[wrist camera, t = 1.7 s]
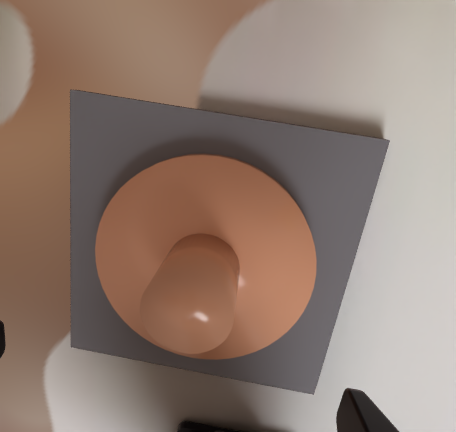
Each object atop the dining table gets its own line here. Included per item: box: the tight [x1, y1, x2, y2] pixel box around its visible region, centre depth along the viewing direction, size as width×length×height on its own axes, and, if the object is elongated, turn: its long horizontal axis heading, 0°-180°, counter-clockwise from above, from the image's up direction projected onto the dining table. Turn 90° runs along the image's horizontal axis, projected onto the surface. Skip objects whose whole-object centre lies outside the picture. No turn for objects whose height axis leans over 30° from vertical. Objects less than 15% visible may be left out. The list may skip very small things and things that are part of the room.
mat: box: [70, 90, 390, 395], centre depth 15 cm, size 12×12×1 cm
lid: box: [95, 153, 317, 360], centre depth 13 cm, size 9×9×4 cm
